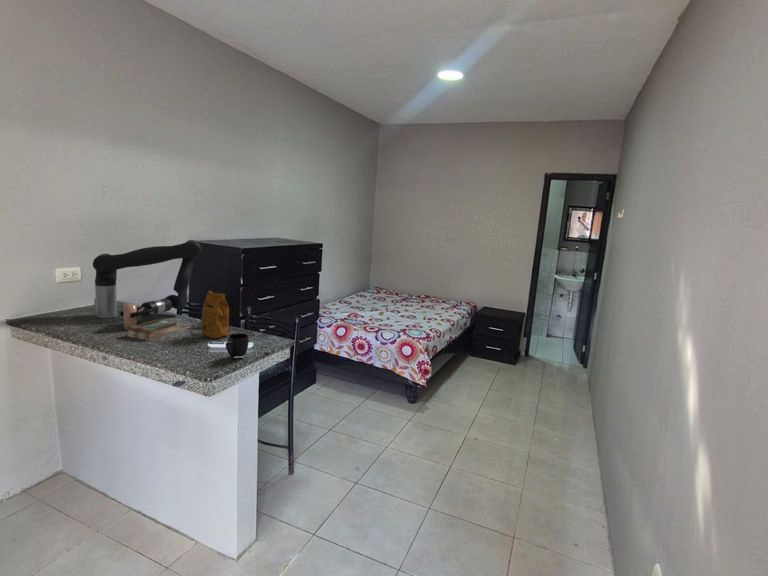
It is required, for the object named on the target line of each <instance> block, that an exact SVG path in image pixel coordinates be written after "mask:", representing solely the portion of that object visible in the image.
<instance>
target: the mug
mask: <svg viewBox="0 0 768 576" xmlns="http://www.w3.org/2000/svg"><path fill="white" fill-rule="evenodd" d="M249 339H250V337H249V335H248V334H246V333H242V332H241V333H240V332H239V333H232V334H228V341H226V342H225V349H226V351H227V353H228V355H229V357H230V358H231V357H232V358H233V357H235V356H243V355H245V354H247V351H248V348H249ZM245 356H246V355H245ZM232 358H231V359H232Z"/></svg>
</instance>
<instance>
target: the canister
mask: <svg viewBox="0 0 768 576" xmlns="http://www.w3.org/2000/svg"><path fill="white" fill-rule="evenodd" d="M122 307H123V308H122V309H123V310H122V311H123V313H124V316H123V329H124V330H125V331H127V330H128V326H130V325H131V326H135V325H138V318H137V317H138V316H137V317H133V318H131V317H130V314H131V313H134V312H137V307H138V306H137V304H136V303H124V304H123V306H122Z"/></svg>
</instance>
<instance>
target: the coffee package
mask: <svg viewBox="0 0 768 576" xmlns="http://www.w3.org/2000/svg"><path fill="white" fill-rule="evenodd" d="M226 296H227V295H226V294H225V293H216V292H215V293H214V292H213V291H211V290H208V291H207V293H206V296H205V299H204V303H203V306H202V310H203V311H202V310H201V312H202V313H201V319H200V320H201V321H200V324H201V336H204V335H205V336H206V337H207V338H208V337H210V338H209V339H214V338H215V340H217V339H216V338H218V339H219V338H221V337H225V336H227V335H228V336H229V322H230V321H229V318H230V314H229V313H230V306H229V304H228V302H227V300H226V298H225V297H226Z"/></svg>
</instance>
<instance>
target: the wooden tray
mask: <svg viewBox="0 0 768 576" xmlns="http://www.w3.org/2000/svg"><path fill="white" fill-rule="evenodd" d="M181 330H182V324H181V323H178V322H176V321H174V322H171V321H166V320H160V319H159V318H157V319H154V320H150V321H145V322H143V323H140V324H137V325H135V326H131V325H130V326H128V330H126V331H127V337H128V336H129V337H128V338H133V337H135V338H134V339H138V338H140V339H139V340H143V339H145V341H148V340H150V341H153V340H156V339H158V337H159V338H162V337H164V336H167V335H170V334H173V333H176V332H179V331H181ZM161 336H162V337H161ZM155 338H156V339H155ZM152 339H153V340H152Z"/></svg>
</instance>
